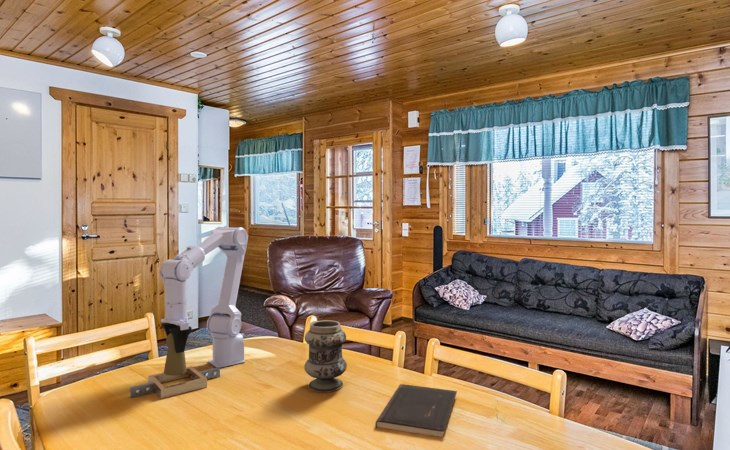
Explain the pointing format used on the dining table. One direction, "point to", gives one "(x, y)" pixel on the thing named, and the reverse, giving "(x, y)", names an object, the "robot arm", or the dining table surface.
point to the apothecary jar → (325, 355)
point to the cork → (174, 359)
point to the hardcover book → (418, 410)
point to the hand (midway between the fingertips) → (176, 349)
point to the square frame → (163, 392)
